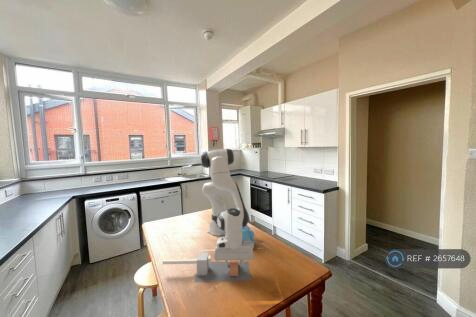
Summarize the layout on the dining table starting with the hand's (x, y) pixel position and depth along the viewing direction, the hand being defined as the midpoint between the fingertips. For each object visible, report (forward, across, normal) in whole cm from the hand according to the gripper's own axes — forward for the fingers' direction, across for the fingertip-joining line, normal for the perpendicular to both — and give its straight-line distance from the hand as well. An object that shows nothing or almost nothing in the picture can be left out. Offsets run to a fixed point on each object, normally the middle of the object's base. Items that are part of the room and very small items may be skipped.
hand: (233, 267), depth 99 cm
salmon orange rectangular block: (+1, 0, 0) cm, 1 cm away
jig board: (+3, +6, 0) cm, 6 cm away
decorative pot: (+3, -5, -29) cm, 29 cm away
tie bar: (-3, +24, 0) cm, 24 cm away
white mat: (+3, +14, -15) cm, 21 cm away
